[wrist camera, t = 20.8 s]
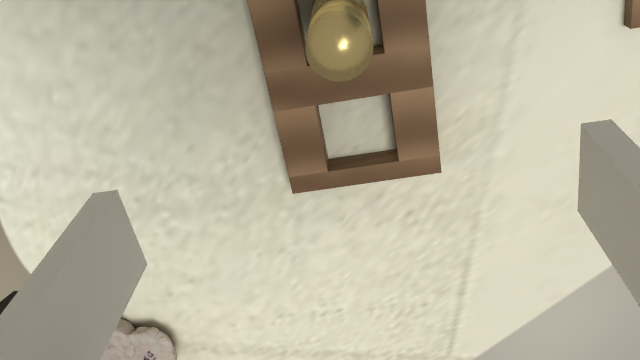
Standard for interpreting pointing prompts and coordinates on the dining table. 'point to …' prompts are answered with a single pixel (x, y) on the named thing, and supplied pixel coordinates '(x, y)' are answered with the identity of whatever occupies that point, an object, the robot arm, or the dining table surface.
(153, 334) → the fossil
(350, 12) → the peg
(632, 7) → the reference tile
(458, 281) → the dining table surface
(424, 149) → the board
